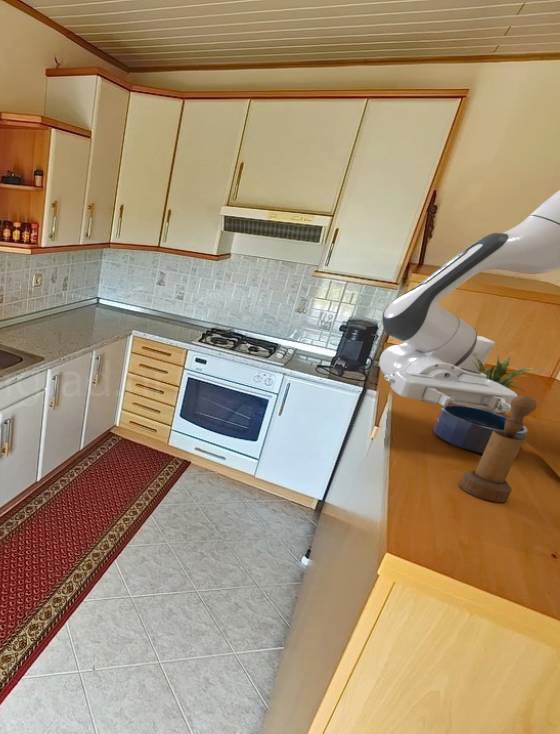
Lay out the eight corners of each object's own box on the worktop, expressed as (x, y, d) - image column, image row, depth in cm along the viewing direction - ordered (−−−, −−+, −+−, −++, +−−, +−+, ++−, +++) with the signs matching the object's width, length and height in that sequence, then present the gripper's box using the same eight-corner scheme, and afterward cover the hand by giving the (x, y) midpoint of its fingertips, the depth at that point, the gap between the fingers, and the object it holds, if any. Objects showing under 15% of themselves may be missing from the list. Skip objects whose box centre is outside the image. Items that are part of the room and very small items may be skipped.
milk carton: (421, 391, 138) (447, 322, 131) (458, 398, 135) (488, 328, 129) (431, 401, 130) (460, 329, 123) (472, 409, 128) (504, 335, 121)
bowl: (503, 440, 109) (514, 416, 107) (525, 466, 97) (538, 439, 95) (426, 423, 115) (436, 399, 112) (438, 445, 103) (449, 419, 101)
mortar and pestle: (454, 478, 89) (495, 386, 83) (498, 489, 86) (544, 395, 80) (464, 495, 83) (509, 398, 77) (512, 507, 81) (563, 408, 74)
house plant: (528, 438, 112) (561, 371, 106) (455, 421, 117) (482, 357, 112) (506, 417, 124) (534, 356, 118) (440, 403, 129) (464, 344, 124)
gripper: (385, 360, 102) (423, 381, 89) (491, 373, 99) (545, 398, 86) (375, 388, 104) (410, 413, 91) (478, 402, 102) (530, 430, 89)
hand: (477, 406), depth 89 cm, fingers open, 8 cm apart
